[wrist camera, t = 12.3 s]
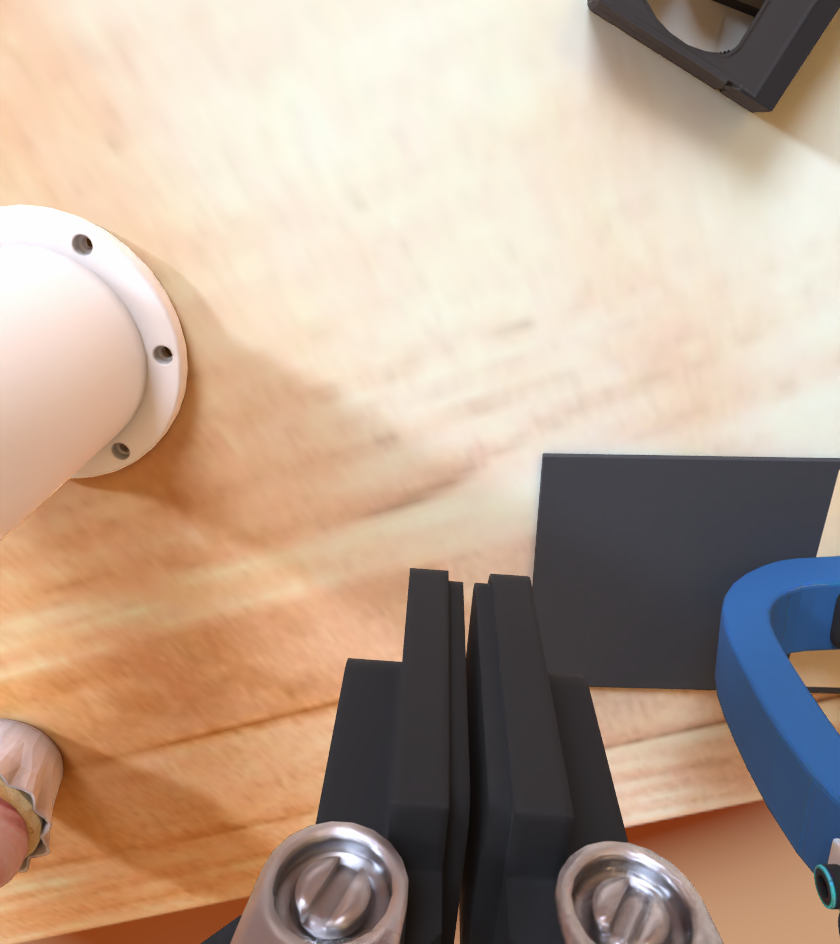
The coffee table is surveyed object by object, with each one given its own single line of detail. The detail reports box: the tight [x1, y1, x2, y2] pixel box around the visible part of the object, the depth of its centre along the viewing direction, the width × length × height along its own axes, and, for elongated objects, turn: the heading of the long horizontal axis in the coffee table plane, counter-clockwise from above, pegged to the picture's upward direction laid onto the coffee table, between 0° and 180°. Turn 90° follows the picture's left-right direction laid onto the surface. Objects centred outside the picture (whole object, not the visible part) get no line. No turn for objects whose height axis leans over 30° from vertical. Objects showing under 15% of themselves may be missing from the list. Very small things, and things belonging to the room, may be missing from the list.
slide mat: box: [532, 454, 840, 693], centre depth 38 cm, size 28×14×1 cm, turn 90°
